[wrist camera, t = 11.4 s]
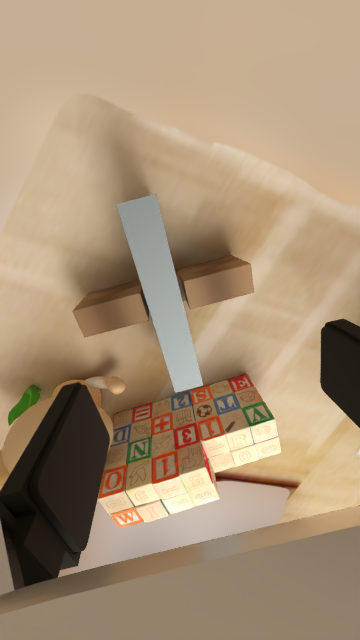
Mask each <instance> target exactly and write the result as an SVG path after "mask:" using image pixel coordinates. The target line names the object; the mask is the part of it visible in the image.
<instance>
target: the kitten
mask: <svg viewBox="0 0 360 640" xmlns="http://www.w3.org/2000/svg"><path fill="white" fill-rule="evenodd" d="M76 382H80V383H81V384H82V385H86V386H87V388H88V390H89V392H90V394H91V396H92V399H93V401H94V403H95V405H96V407H97V409H98V411H99V413H100V416H101V418H102V420H103V422H104V424H105V426H106V428H107V430H108V433H109V436H110V444H109V449H110V446H111V443H112V438H113V424H112V421H111V419H110V417H109V416H108V414H107V413H106V412H105V411H104V410H103V409H101V406H102V400H101V393H100V390H99V389H102V388H108V389H109V390H110V391H111V392H112V393H113V394H120V393H122V392H123V391H124V389H125V383H124V382H123V381H122V380H121V379H119V378H117V377H92V378H89V379H86V380H69V381H66V382H64V383H62V384H60V385H59V386H57V387H56V388H55V390H54V391H53V393H52V395H51V398H49V399H46V400H43V401H41V402H38V403H37V404H36V402H37V401H38V399H39V398H40V394H39V391H40V390H39V389H37V388H35V387H34V385H32V386H31V387H29V388H28V389H27V390H26V392H25V393H24V395H23V397H22V399H21V400H20V401H19V403H18V404H17V405H16V406H15V407H14V408H13V409H12V410H11V411H10V412H9V416H8V422H9V426H10V425H11V424H12V422H13V421H14V420H15V419H16V418H18V417H19V418H18V419H17V420H16V421H15V423H14V424H13V426H12V427H11V429H10V431H9V433H8V435H7V437H6V440H5V442H4V445H3V449H2V450H1V451H0V490H1V489H2V487H3V485H4V484H5V482H6V480H7V479H8V477H9V475H10V474H11V472H12V470H13V468H14V467H15V465H16V463H17V462H18V460H19V458H20V457H21V455H22V453H23V452H24V450H25V448H26V447H27V445H28V443H29V442H30V440H31V438H32V436H33V435H34V433H35V431H36V430H37V428H38V426H39V425H40V423H41V421H42V420H43V418H44V416H45V415H46V413H47V411H48V410H49V408H50V406H51V405H52V403H53V401H54V399H55V398H56V396H57V394H58V393H59V391H60V389H61V388H62V387H63V386H64V385H68V384H72V383H76ZM109 449H108V451H109ZM107 454H108V453H107Z"/></svg>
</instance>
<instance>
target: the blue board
mask: <svg viewBox="0 0 360 640" xmlns="http://www.w3.org/2000/svg"><path fill="white" fill-rule="evenodd" d="M116 206H117V209H118V212H119V215H120V218H121V222H122V225H123V228H124V231H125V234H126V237H127V241H128V244H129V247H130V250H131V253H132V257H133V260H134V263H135V266H136V269H137V273H138V276H139V279H140V282H141V285H142V288H143V292H144V295H145V298H146V301H147V304H148V308H149V311H150V314H151V317H152V320H153V324H154V327H155V330H156V333H157V336H158V340H159V343H160V346H161V349H162V352H163V355H164V359H165V362H166V365H167V368H168V371H169V375H170V378H171V381H172V384H173V387H174V391H175V393H177V392H181V391H184V390H188V389H192V388H196V387H199V386H203V382H202V378H201V374H200V370H199V366H198V362H197V358H196V354H195V350H194V346H193V342H192V338H191V334H190V330H189V326H188V322H187V318H186V313H185V309H184V305H183V301H182V297H181V293H180V289H179V285H178V281H177V277H176V273H175V269H174V265H173V261H172V257H171V253H170V249H169V245H168V241H167V237H166V233H165V228H164V224H163V220H162V216H161V212H160V208H159V204H158V200H157V196H156V194H153V195H150V196H146V197H142V198H138V199H134V200H130V201H126V202H123V203H119V204H116Z"/></svg>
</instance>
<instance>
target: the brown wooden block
mask: <svg viewBox="0 0 360 640" xmlns="http://www.w3.org/2000/svg"><path fill="white" fill-rule="evenodd" d="M175 273H176V277H177V281H178V285H179V289H180V293H181V297H182V301H187V303H188V306H189V308H190V309H194V308H197V307H201V306H205V305H209V304H212V303H216V302H220V301H224V300H227V299H231V298H235V297H239V296H242V295H246V294H250V293H254V288H253V279H252V270H251V264H250V263H248V262H246V261H243V260H241V259H239V258H236V257H234V256H228V257H224V258H221V259H217V260H213V261H209V262H206V263H202V264H198V265H194V266H190V267H187V268H183V269H179V270H175ZM72 312H73V314H74V316H75V318H76V320H77V322H78V325H79V327H80V329H81V331H82V333H83V335H84V337H88V336H92V335H96V334H100V333H103V332H107V331H111V330H115V329H118V328H122V327H126V326H130V325H133V324H137V323H141V322H145V321H148V320H149V308H148V304H147V301H146V298H145V295H144V292H143V288H142V285H141V282H140V280H138V281H134V282H130V283H126V284H123V285H119V286H115V287H111V288H108V289H104V290H100V291H96V292H92V293H89V294H87V295H86V296H85V297H84V299H83V300H82V301H81V302H80V303H79V304H78V305H77V306H76V308H75V309H74V310H73V311H72Z"/></svg>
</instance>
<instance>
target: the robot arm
mask: <svg viewBox="0 0 360 640" xmlns="http://www.w3.org/2000/svg"><path fill="white" fill-rule="evenodd" d="M320 383H321V387H322V389H323V391H324V392H325V393H326V394H327V395H328V396H329V397H330V398H331V399H332V400H333V401H334V402H335V403H336V404H337V405H338V406H339V407H340V408H341V409H342V411H343V412H344V413H345V414H346V415H347V416H348V417H349V418H350V419H351V420H352V421H353V422H354V423H355V424H356V425H357V426H358V427H359V428H360V327H359V326H357V325H355V324H353V323H351V322H349V321H348V320H345V319H339V320H335V321H331V322H327V323H326V324H325V327H323V328H322V330H321V378H320ZM109 444H110V436H109V433H108V430H107V428H106V426H105V424H104V422H103V420H102V418H101V416H100V413H99V411H98V409H97V407H96V405H95V403H94V401H93V399H92V396H91V394H90V392H89V390H88V388H87V386H86V385H82V384H81V383H80V382H76V383H72V384H68V385H64V386H63V387H62V388H61V389H60V391H59V393H58V394H57V396H56V398H55V399H54V401H53V403H52V405H51V406H50V408H49V410H48V411H47V413H46V415H45V416H44V418H43V420H42V421H41V423H40V425H39V426H38V428H37V430H36V431H35V433H34V435H33V436H32V438H31V440H30V442H29V443H28V445H27V447H26V448H25V450H24V452H23V453H22V455H21V457H20V458H19V460H18V462H17V463H16V465H15V467H14V468H13V470H12V472H11V474H10V475H9V477H8V479H7V480H6V482H5V484H4V485H3V487H2V489H1V490H0V640H360V505H359V506H354V507H350V508H345V509H341V510H337V511H332V512H328V513H324V514H319V515H315V516H311V517H307V518H302V519H298V520H294V521H289V522H285V523H281V524H276V525H272V526H268V527H264V528H259V529H255V530H251V531H247V532H242V533H238V534H234V535H230V536H225V537H222V538H217V539H213V540H209V541H204V542H200V543H196V544H192V545H188V546H183V547H179V548H175V549H171V550H167V551H163V552H158V553H154V554H150V555H146V556H142V557H138V558H134V559H129V560H125V561H121V562H117V563H113V564H109V565H105V566H100V567H97V568H93V569H89V570H85V571H81V572H78V573H74V574H70V575H66V576H62V577H59V578H58V574H59V571H60V570H62V569H66V568H70V567H75V566H78V563H79V559H80V554H81V551H83V550H84V549H85V548H86V546H87V543H88V539H89V534H90V530H91V525H92V521H93V516H94V512H95V507H96V503H97V498H98V494H99V489H100V485H101V480H102V476H103V471H104V467H105V462H106V458H107V453H108V449H109Z"/></svg>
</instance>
